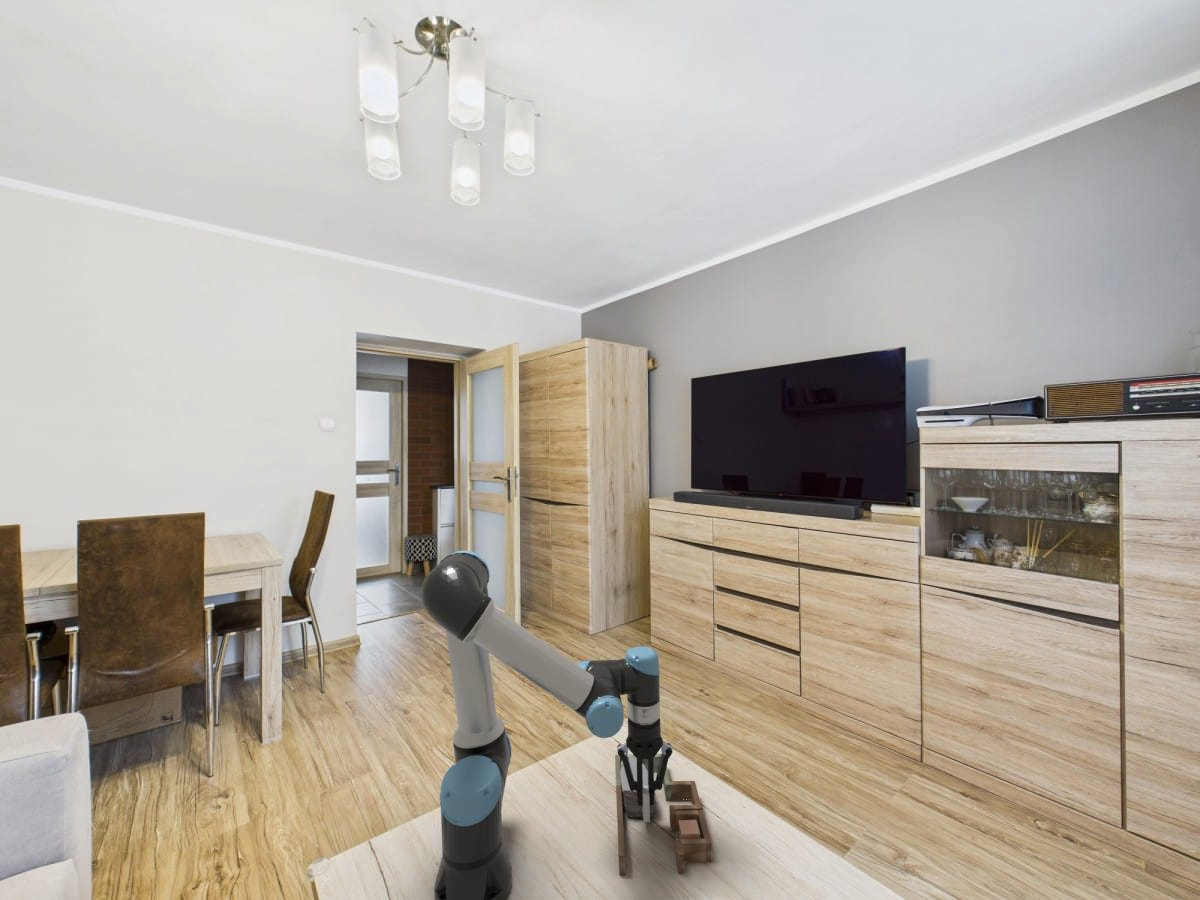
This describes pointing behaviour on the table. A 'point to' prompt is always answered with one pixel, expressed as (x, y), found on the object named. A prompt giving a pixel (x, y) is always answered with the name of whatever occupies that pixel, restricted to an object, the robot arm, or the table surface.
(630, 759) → the decorative stone
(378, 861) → the table surface
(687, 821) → the cube
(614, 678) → the robot arm
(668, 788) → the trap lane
